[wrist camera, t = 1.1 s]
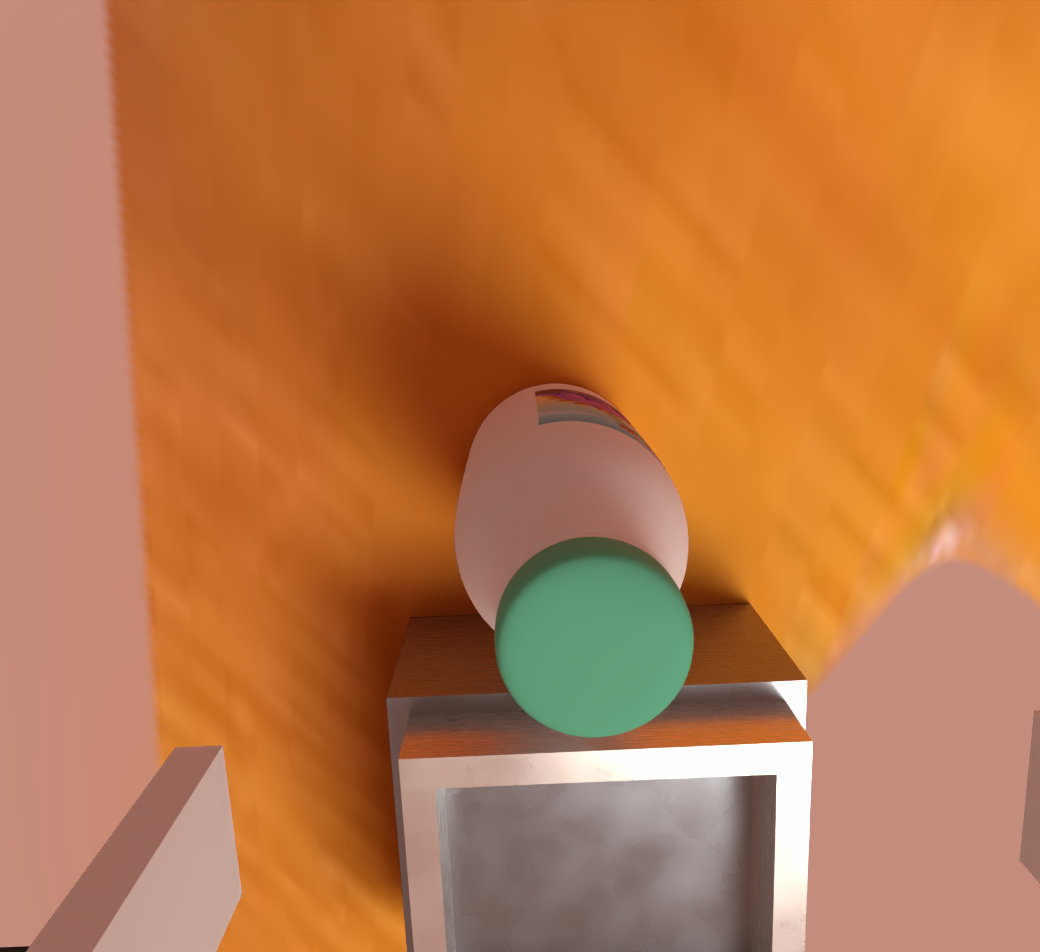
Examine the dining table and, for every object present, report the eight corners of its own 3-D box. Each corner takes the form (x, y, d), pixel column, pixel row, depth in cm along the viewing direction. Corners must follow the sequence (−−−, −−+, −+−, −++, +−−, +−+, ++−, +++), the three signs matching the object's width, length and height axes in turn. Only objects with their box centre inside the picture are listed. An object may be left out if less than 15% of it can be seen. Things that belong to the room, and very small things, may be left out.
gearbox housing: (410, 617, 40) (373, 739, 29) (749, 603, 40) (836, 719, 29) (434, 930, 44) (408, 1139, 33) (743, 917, 44) (818, 1121, 33)
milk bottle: (527, 577, 40) (541, 860, 20) (435, 439, 38) (356, 601, 19) (670, 491, 39) (828, 700, 19) (582, 347, 37) (659, 417, 18)
